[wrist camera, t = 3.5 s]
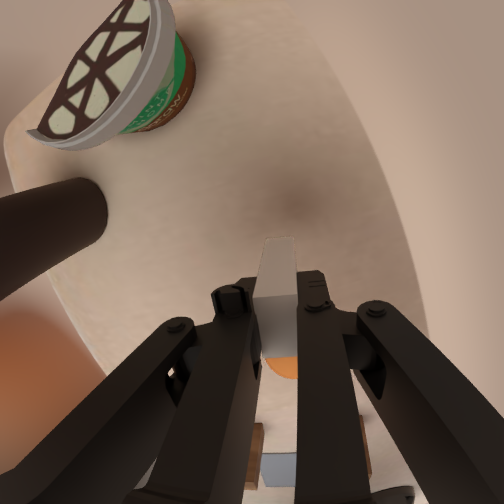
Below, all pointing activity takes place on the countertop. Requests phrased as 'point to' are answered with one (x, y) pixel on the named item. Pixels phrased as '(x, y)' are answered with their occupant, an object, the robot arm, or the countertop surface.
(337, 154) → the countertop surface
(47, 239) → the bottle
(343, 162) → the countertop surface
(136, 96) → the food container
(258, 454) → the post
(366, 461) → the post
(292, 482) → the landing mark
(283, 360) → the ball
